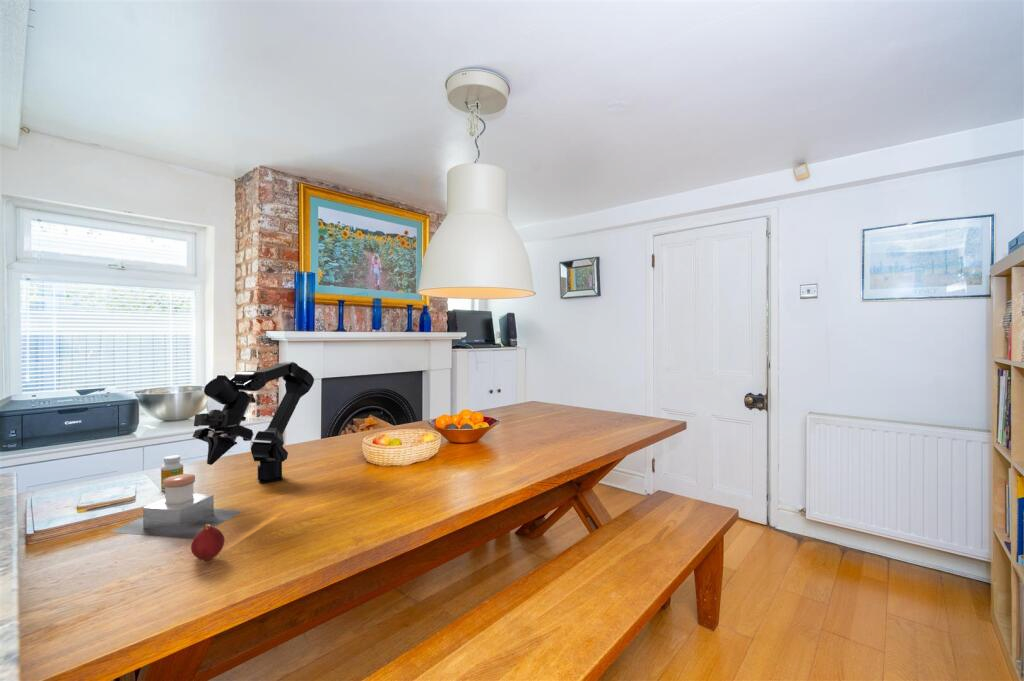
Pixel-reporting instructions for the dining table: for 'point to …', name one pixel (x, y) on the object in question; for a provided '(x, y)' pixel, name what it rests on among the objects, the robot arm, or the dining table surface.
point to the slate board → (186, 533)
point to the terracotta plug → (179, 489)
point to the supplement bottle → (171, 468)
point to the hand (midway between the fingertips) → (209, 464)
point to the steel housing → (178, 513)
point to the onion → (207, 543)
